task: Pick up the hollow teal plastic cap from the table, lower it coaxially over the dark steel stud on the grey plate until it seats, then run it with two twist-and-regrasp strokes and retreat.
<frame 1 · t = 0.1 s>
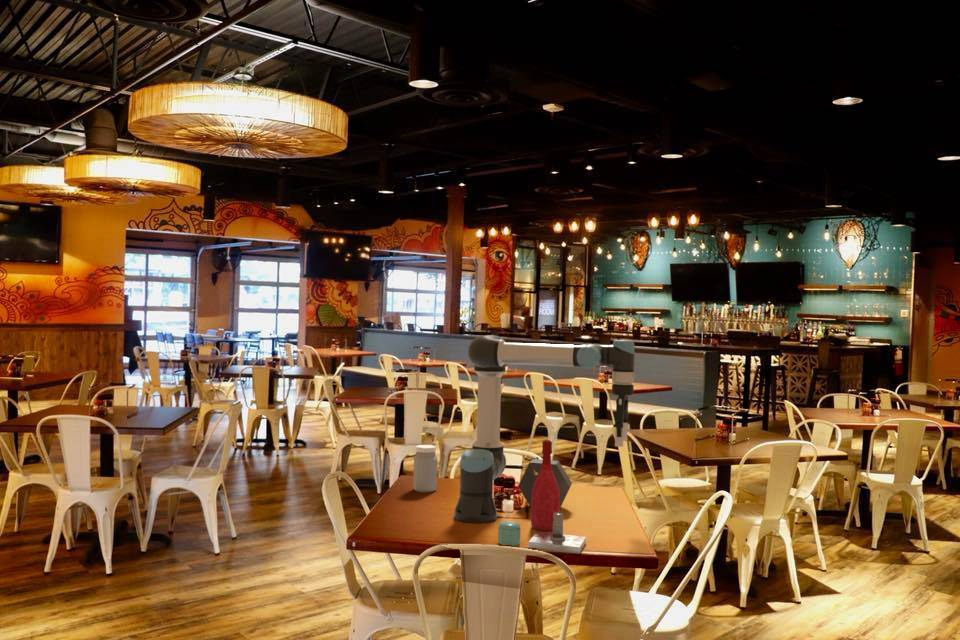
hand: (621, 443, 279), 28 cm above the table, fingers open, 13 cm apart
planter: (544, 508, 298), on the table
jar: (424, 490, 322), on the table
wine bottle: (544, 528, 269), on the table
stud base: (557, 545, 249), on the table
cap: (509, 543, 250), on the table
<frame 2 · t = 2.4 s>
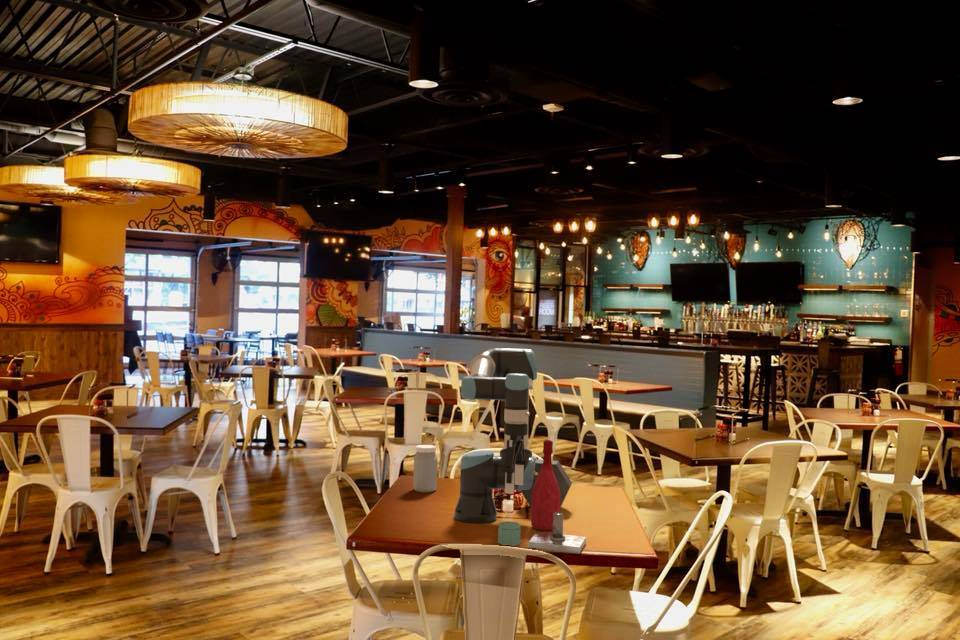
hand: (514, 489, 251), 17 cm above the table, fingers open, 13 cm apart
nothing on the table moved.
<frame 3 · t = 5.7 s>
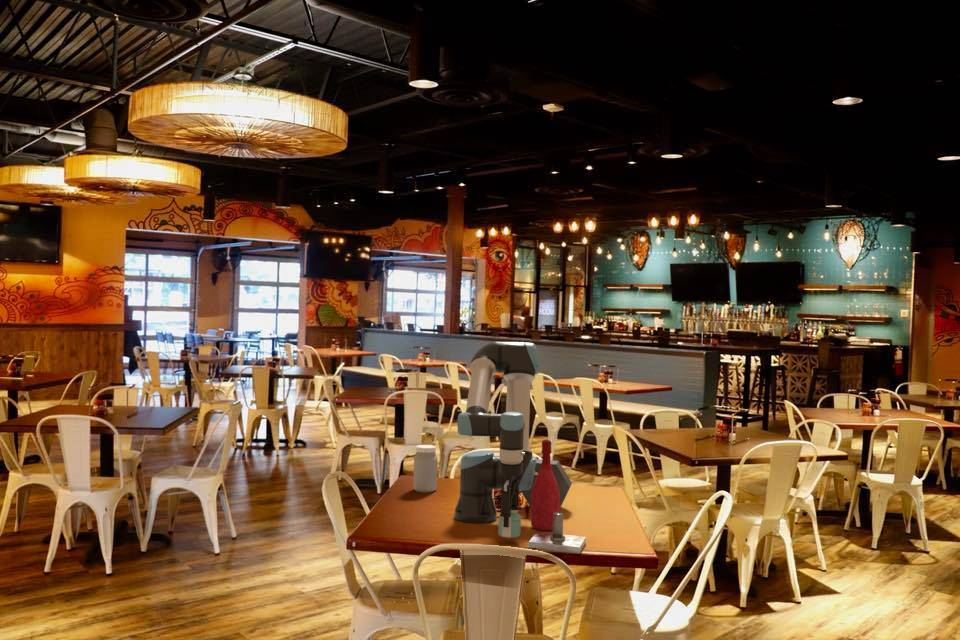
hand: (509, 533, 251), 3 cm above the table, fingers closed on cap, 7 cm apart
cap: (509, 534, 251), point 3 cm above the table, touching gripper
everything else where it was.
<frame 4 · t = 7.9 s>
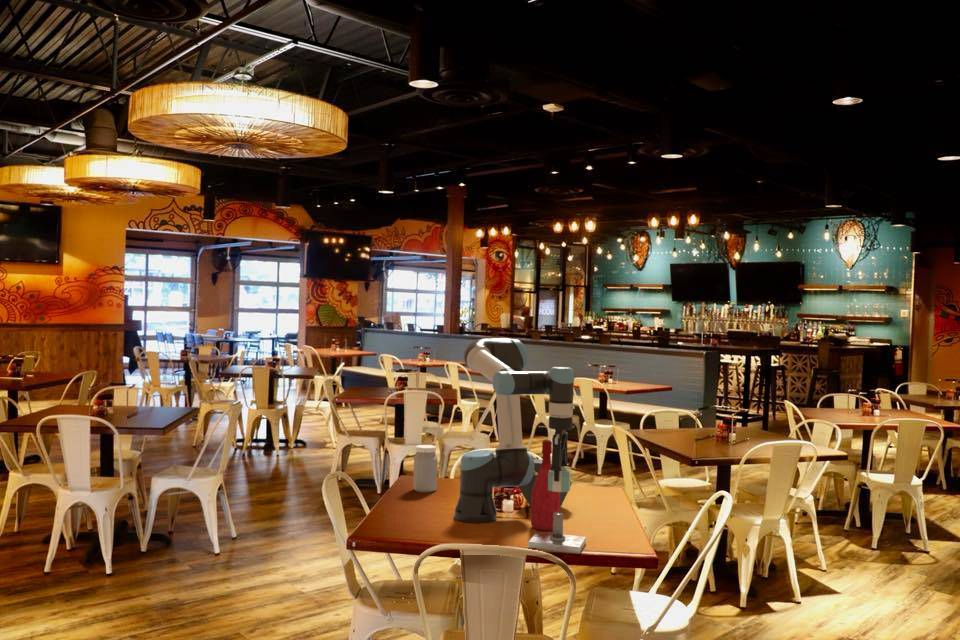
hand: (559, 489, 248), 18 cm above the table, fingers closed on cap, 7 cm apart
cap: (559, 489, 248), point 18 cm above the table, touching gripper
everything else where it was.
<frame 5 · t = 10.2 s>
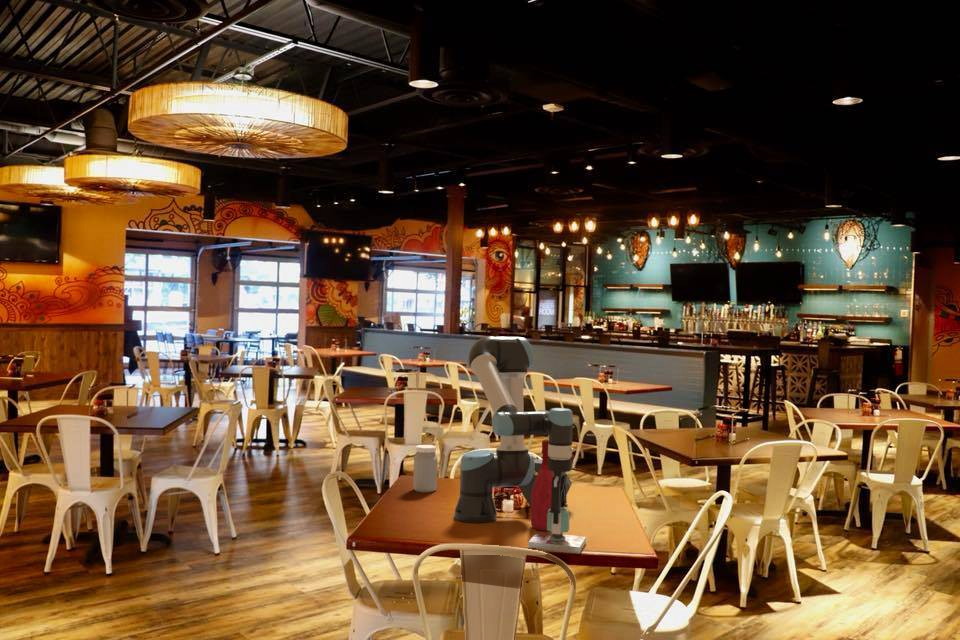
hand: (558, 530, 248), 5 cm above the table, fingers closed on cap, 7 cm apart
cap: (558, 529, 248), point 5 cm above the table, touching gripper, stud base
everything else where it was.
when the fingers open (5 cm above the table, at t = 10.2 s): cap stays where it is, resting on stud base.
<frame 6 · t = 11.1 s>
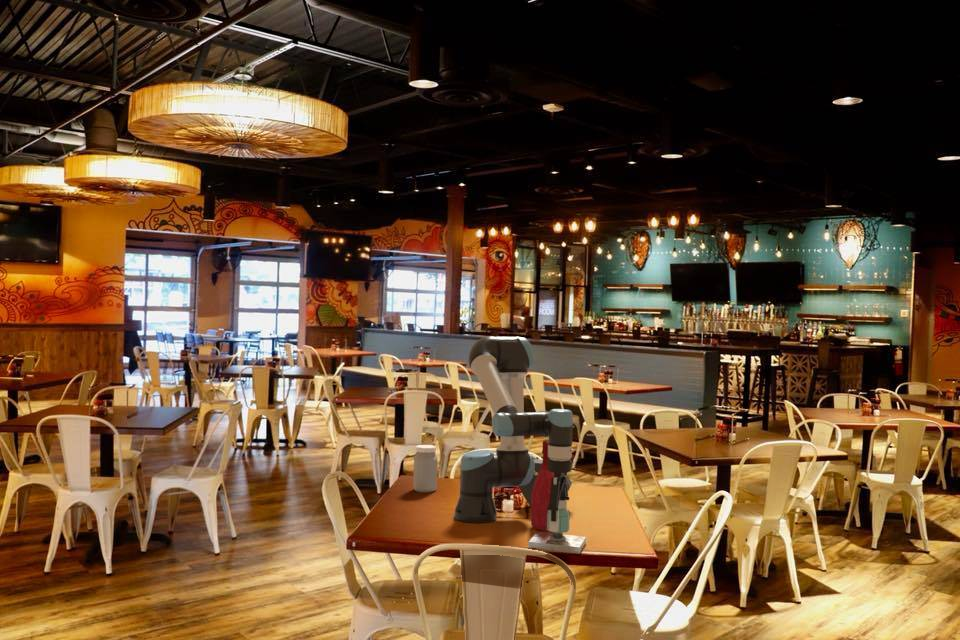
hand: (557, 525, 249), 6 cm above the table, fingers open, 13 cm apart
cap: (558, 529, 248), point 5 cm above the table, touching stud base
everything else where it was.
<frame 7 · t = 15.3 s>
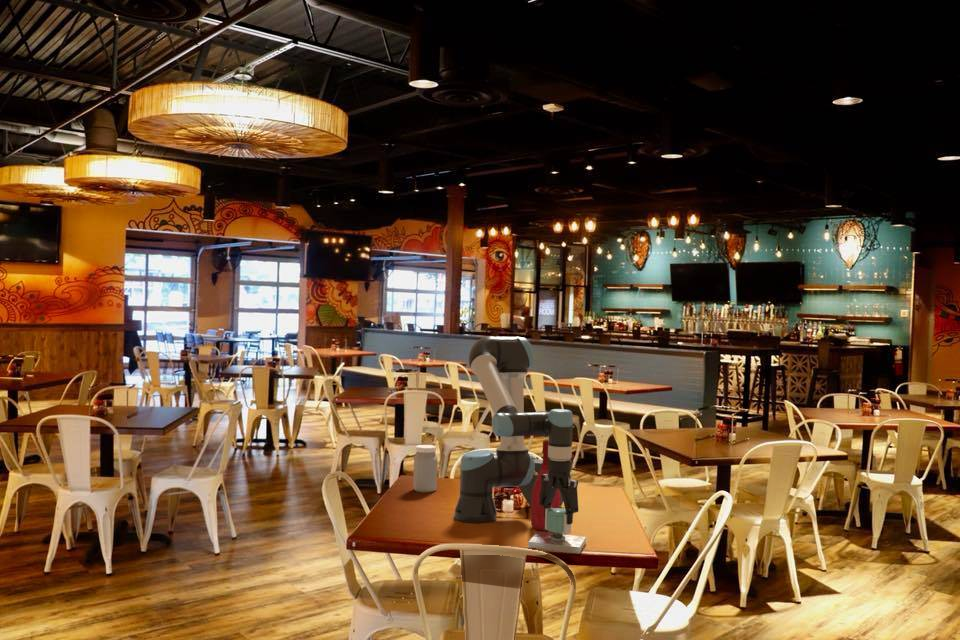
hand: (557, 531, 249), 5 cm above the table, fingers closed on cap, 7 cm apart
cap: (557, 529, 249), point 5 cm above the table, touching gripper
everything else where it was.
when the fingers open (5 cm above the table, at t = 15.4 s): cap stays where it is, resting on stud base.
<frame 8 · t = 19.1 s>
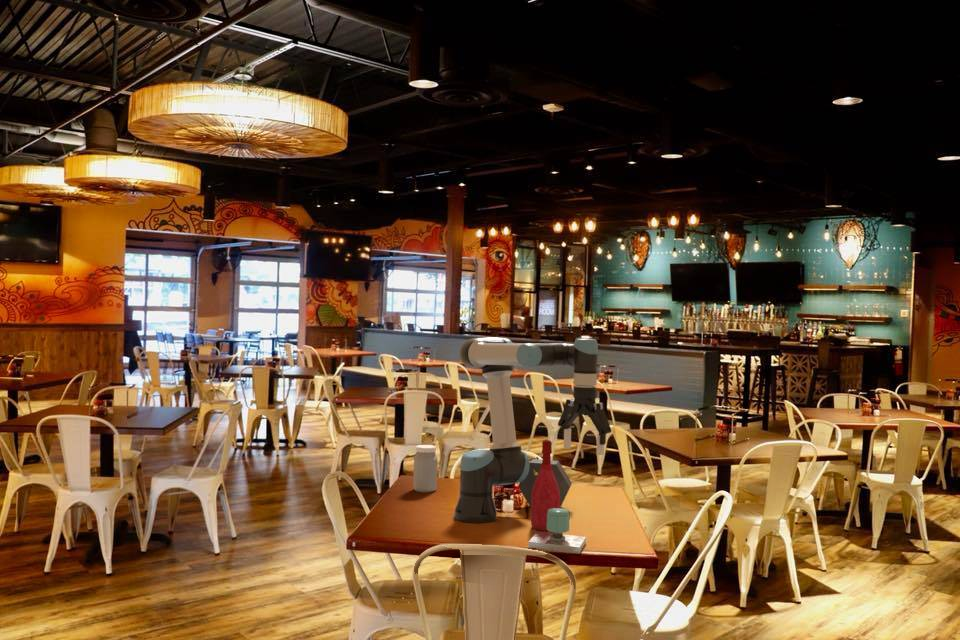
hand: (583, 451, 255), 29 cm above the table, fingers open, 13 cm apart
cap: (557, 529, 249), point 5 cm above the table, touching stud base
everything else where it was.
at the end: cap 0.0 cm off-centre on the stud base, point 5.0 cm above the stud base's base; cap tilted 0°; the gripper is holding nothing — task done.
